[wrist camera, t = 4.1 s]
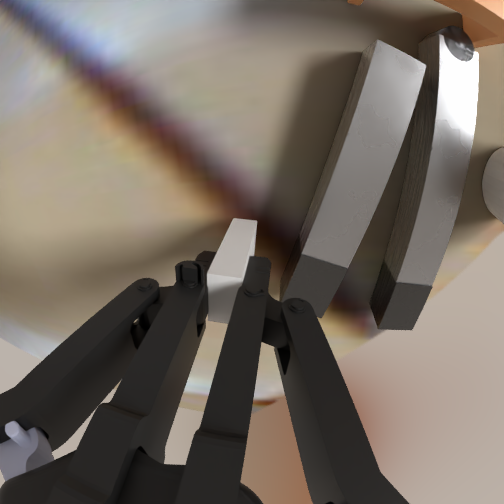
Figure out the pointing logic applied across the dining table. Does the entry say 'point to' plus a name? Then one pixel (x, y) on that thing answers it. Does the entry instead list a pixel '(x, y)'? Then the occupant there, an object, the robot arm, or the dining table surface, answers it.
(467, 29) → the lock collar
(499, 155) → the coffee cup
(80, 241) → the dining table surface
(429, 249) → the tongs fixed
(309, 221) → the tong arm
